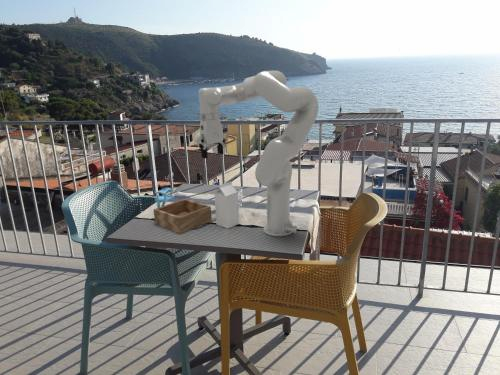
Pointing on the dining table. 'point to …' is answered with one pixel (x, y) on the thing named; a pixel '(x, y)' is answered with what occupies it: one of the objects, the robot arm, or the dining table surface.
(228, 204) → the milk carton
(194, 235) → the dining table surface
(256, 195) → the dining table surface
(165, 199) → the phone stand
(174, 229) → the wooden crate
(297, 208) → the dining table surface
